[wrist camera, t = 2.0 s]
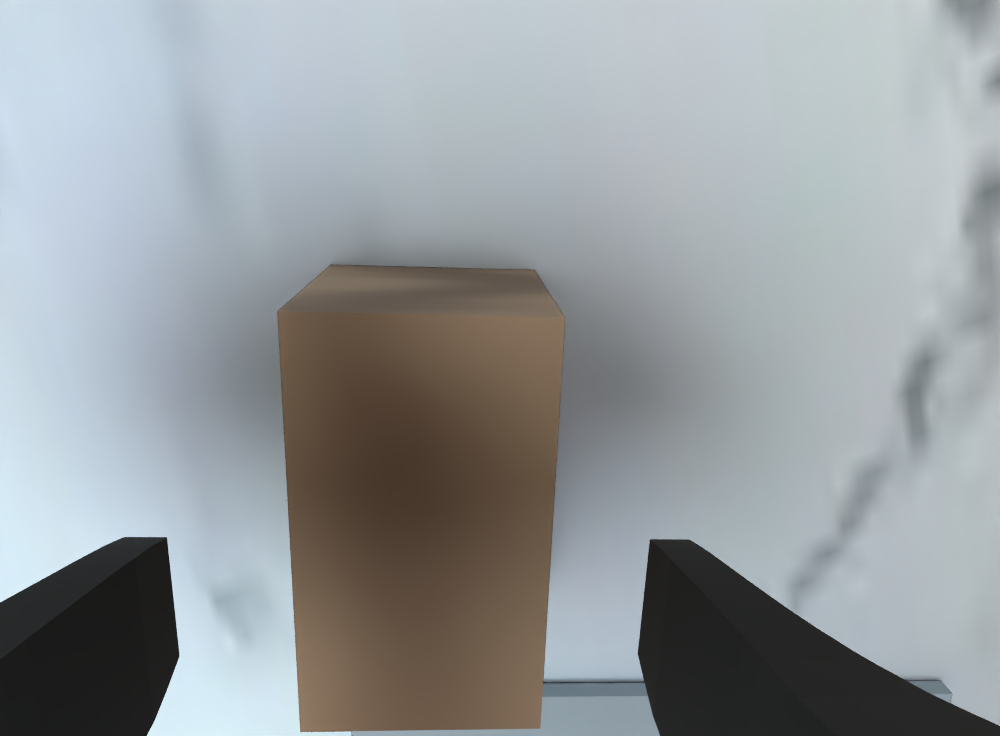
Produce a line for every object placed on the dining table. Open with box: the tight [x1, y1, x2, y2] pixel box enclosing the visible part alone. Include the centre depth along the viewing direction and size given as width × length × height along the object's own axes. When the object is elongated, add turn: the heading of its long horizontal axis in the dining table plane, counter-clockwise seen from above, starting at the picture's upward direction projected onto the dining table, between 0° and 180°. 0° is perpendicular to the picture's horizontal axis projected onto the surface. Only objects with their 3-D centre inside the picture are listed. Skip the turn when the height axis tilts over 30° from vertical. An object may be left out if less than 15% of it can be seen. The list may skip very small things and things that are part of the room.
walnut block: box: [277, 265, 565, 732], centre depth 15 cm, size 4×8×5 cm, turn 178°
